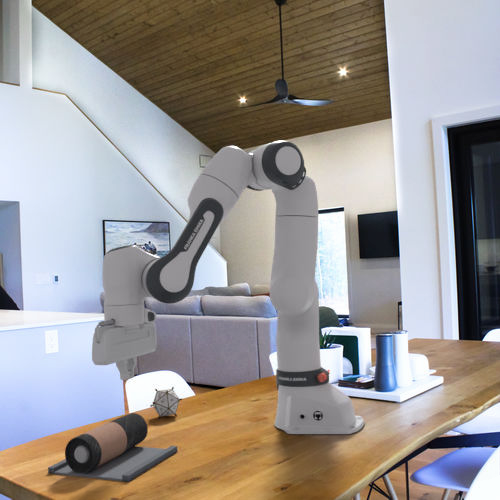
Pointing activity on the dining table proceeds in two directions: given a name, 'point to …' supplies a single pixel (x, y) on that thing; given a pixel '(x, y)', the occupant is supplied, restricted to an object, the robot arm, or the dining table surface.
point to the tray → (121, 464)
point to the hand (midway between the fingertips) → (127, 378)
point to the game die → (166, 402)
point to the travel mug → (105, 442)
